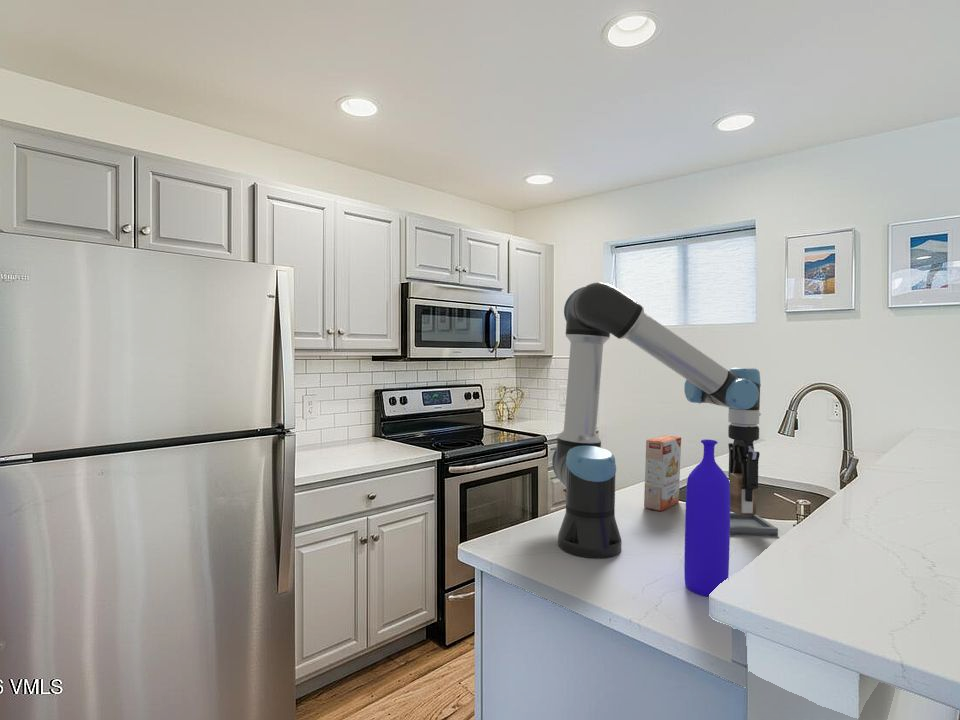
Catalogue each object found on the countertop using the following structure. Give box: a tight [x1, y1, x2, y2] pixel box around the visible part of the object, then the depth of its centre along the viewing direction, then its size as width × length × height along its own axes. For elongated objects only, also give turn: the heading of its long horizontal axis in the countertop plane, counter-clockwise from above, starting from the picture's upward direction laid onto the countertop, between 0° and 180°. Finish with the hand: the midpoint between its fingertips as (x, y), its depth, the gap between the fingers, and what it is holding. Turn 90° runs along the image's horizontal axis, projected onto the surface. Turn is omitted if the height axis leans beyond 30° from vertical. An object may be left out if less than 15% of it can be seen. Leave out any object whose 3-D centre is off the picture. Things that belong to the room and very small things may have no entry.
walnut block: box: [729, 473, 758, 515], centre depth 144 cm, size 5×5×10 cm
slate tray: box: [730, 512, 779, 537], centre depth 144 cm, size 13×13×2 cm
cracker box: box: [643, 434, 682, 512], centre depth 163 cm, size 14×6×21 cm, turn 138°
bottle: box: [683, 439, 731, 598], centre depth 106 cm, size 8×8×30 cm
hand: (742, 509), depth 144 cm, fingers closed on walnut block, 5 cm apart
